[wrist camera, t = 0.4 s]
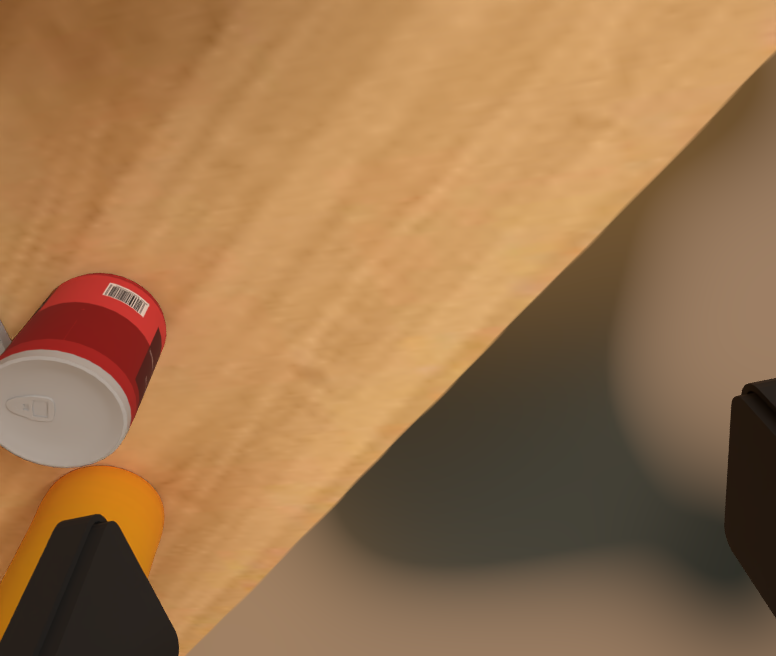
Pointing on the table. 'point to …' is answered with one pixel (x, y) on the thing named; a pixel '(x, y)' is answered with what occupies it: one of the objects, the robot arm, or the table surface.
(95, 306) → the canned food
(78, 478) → the beer bottle
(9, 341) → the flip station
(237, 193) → the table surface
